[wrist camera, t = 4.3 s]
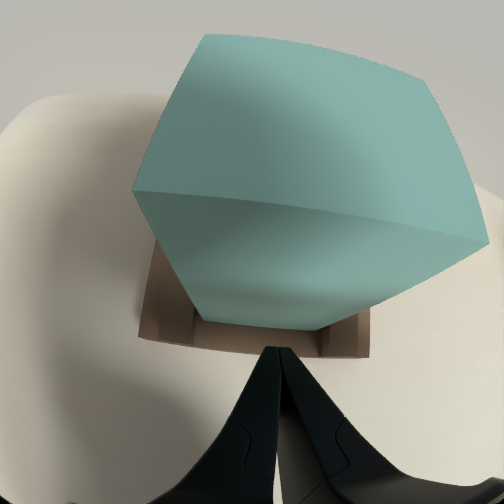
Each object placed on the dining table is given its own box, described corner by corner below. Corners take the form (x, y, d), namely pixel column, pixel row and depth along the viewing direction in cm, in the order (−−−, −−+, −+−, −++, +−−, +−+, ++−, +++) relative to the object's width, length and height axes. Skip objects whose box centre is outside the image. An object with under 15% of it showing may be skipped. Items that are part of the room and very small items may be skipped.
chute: (358, 358, 16) (401, 353, 11) (145, 339, 15) (114, 329, 11) (349, 163, 22) (372, 121, 17) (189, 142, 21) (183, 94, 16)
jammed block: (314, 330, 15) (489, 243, 4) (203, 320, 15) (132, 190, 4) (316, 246, 17) (423, 80, 6) (215, 234, 17) (205, 34, 5)
